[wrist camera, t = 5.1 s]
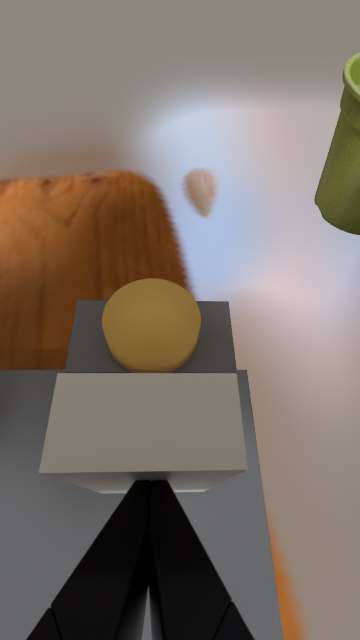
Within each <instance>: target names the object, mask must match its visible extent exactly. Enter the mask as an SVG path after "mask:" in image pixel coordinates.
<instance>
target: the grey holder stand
mask: <svg viewBox="0 0 360 640" xmlns="http://www.w3.org/2000/svg"><path fill="white" fill-rule="evenodd" d="M57 373H237V381H238V390H239V398H240V407H241V415H242V424H243V432H244V441H245V450H246V458H247V467H248V470H246V471H244V472H242V473H240V474H238V475H236V476H234V477H232V478H230V479H228V480H226V481H224V482H222V483H220V484H218V485H216V486H214V487H212V488H210V489H208V490H206V491H204V492H174V493H175V495H176V496H177V498H178V500H179V502H180V504H181V506H182V507H183V509H184V511H185V513H186V515H187V517H188V518H189V520H190V522H191V524H192V526H193V528H194V530H195V531H196V533H197V535H198V537H199V539H200V541H201V542H202V544H203V546H204V548H205V550H206V552H207V553H208V555H209V557H210V559H211V561H212V563H213V564H214V566H215V568H216V570H217V572H218V574H219V575H220V577H221V579H222V581H223V583H224V585H225V587H226V588H227V590H228V592H229V594H230V596H231V598H232V601H233V602H234V603H235V605H236V606H237V608H238V610H239V612H240V614H241V616H242V617H243V619H244V621H245V623H246V625H247V626H248V628H249V630H250V631H251V633H252V635H253V637H254V638H255V640H283V636H282V628H281V621H280V613H279V606H278V598H277V591H276V584H275V576H274V569H273V561H272V554H271V547H270V539H269V532H268V524H267V517H266V509H265V502H264V495H263V487H262V480H261V472H260V465H259V458H258V450H257V443H256V435H255V428H254V420H253V413H252V406H251V398H250V391H249V383H248V376H247V370H236V362H235V353H234V345H233V337H232V328H231V319H230V311H229V302H215V301H213V302H212V301H195V299H194V298H193V296H192V295H191V294H190V293H189V292H188V291H187V290H186V289H184V288H183V287H181V286H180V285H178V284H176V283H173V282H171V281H168V280H164V279H156V278H147V279H141V280H136V281H133V282H131V283H128V284H126V285H124V286H123V287H121V288H120V289H118V290H117V291H116V292H115V293H114V294H113V295H112V296H111V297H110V299H109V300H77V303H76V309H75V314H74V320H73V326H72V331H71V337H70V343H69V348H68V354H67V359H66V365H65V370H0V640H26V639H27V637H28V636H29V635H30V633H31V632H32V630H33V629H34V627H35V626H36V625H37V623H38V622H39V620H40V619H41V617H42V616H43V614H44V613H45V611H46V610H47V608H51V607H50V605H51V603H52V601H53V600H54V598H55V597H56V595H57V594H58V593H59V591H60V590H61V588H62V587H63V585H64V584H65V582H66V581H67V579H68V578H69V576H70V575H71V573H72V572H73V571H74V569H75V568H76V566H77V565H78V563H79V562H80V560H81V559H82V557H83V556H84V554H85V553H86V551H87V550H88V549H89V547H90V546H91V544H92V543H93V541H94V540H95V538H96V537H97V535H98V534H99V532H100V531H101V529H102V528H103V527H104V525H105V524H106V522H107V521H108V519H109V518H110V516H111V515H112V513H113V512H114V510H115V509H116V507H117V506H118V505H119V503H120V502H121V500H122V499H123V497H124V496H125V494H126V493H110V494H102V493H99V492H96V491H93V490H90V489H86V488H83V487H80V486H77V485H74V484H71V483H68V482H65V481H62V480H59V479H55V478H52V477H49V476H46V475H43V474H40V473H39V469H40V463H41V458H42V453H43V447H44V442H45V437H46V431H47V426H48V421H49V416H50V410H51V405H52V400H53V394H54V389H55V384H56V378H57ZM141 640H152V633H151V618H150V603H149V587H148V596H147V603H146V611H145V618H144V625H143V632H142V639H141Z"/></svg>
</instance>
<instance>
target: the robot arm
mask: <svg viewBox="0 0 360 640" xmlns="http://www.w3.org/2000/svg"><path fill="white" fill-rule="evenodd" d="M148 587H149V603H150V618H151V633H152V640H255V638H254V637H253V635H252V633H251V631H250V630H249V628H248V626H247V625H246V623H245V621H244V619H243V617H242V616H241V614H240V612H239V610H238V608H237V606H236V605H235V603H234V602H233V601H232V598H231V596H230V594H229V592H228V590H227V588H226V587H225V585H224V583H223V581H222V579H221V577H220V575H219V574H218V572H217V570H216V568H215V566H214V564H213V563H212V561H211V559H210V557H209V555H208V553H207V552H206V550H205V548H204V546H203V544H202V542H201V541H200V539H199V537H198V535H197V533H196V531H195V530H194V528H193V526H192V524H191V522H190V520H189V518H188V517H187V515H186V513H185V511H184V509H183V507H182V506H181V504H180V502H179V500H178V498H177V496H176V495H175V493H174V491H173V489H172V487H171V485H170V484H169V482H168V481H167V480H152V482H151V481H150V480H136V481H134V483H133V484H132V485H131V487H130V488H129V490H128V491H127V493H126V494H125V496H124V497H123V499H122V500H121V502H120V503H119V505H118V506H117V507H116V509H115V510H114V512H113V513H112V515H111V516H110V518H109V519H108V521H107V522H106V524H105V525H104V527H103V528H102V529H101V531H100V532H99V534H98V535H97V537H96V538H95V540H94V541H93V543H92V544H91V546H90V547H89V549H88V550H87V551H86V553H85V554H84V556H83V557H82V559H81V560H80V562H79V563H78V565H77V566H76V568H75V569H74V571H73V572H72V573H71V575H70V576H69V578H68V579H67V581H66V582H65V584H64V585H63V587H62V588H61V590H60V591H59V593H58V594H57V595H56V597H55V598H54V600H53V601H52V603H51V605H50V607H51V608H47V610H46V611H45V613H44V614H43V616H42V617H41V619H40V620H39V622H38V623H37V625H36V626H35V627H34V629H33V630H32V632H31V633H30V635H29V636H28V637H27V639H26V640H141V639H142V632H143V625H144V618H145V611H146V603H147V596H148Z"/></svg>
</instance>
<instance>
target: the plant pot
mask: <svg viewBox="0 0 360 640" xmlns="http://www.w3.org/2000/svg"><path fill="white" fill-rule="evenodd" d="M343 82H344V85H345V87H344V91H343V94H342V98H341V104H340V108H341V112H340V116H339V119H338V122H337V126H336V129H335V132H334V136H333V139H332V143H331V146H330V149H329V153H328V156H327V159H326V162H325V166H324V169H323V172H322V175H321V178H320V181H319V185H318V188H317V192H316V195H315V204H316V205H317V206H318V207H319V209H320V211H321V214H322V216H323V218H324V219H325V220H326V221H327V222H328V223H330V224H331V225H333V226H334V227H337V228H339V229H340V230H343V231H346V232H348V233H352V234H356V235H360V53H357V54H356V55H354V56H352V57H351V58H350V59H349V60H348V61H347V63H346V64H345V67H344V70H343Z"/></svg>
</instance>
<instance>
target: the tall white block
mask: <svg viewBox="0 0 360 640" xmlns="http://www.w3.org/2000/svg"><path fill="white" fill-rule="evenodd" d="M246 470H248V467H247V458H246V450H245V441H244V432H243V424H242V415H241V407H240V398H239V390H238V381H237V373H57V378H56V384H55V389H54V394H53V400H52V405H51V410H50V416H49V421H48V426H47V431H46V437H45V442H44V447H43V453H42V458H41V463H40V469H39V473H40V474H43V475H46V476H49V477H52V478H55V479H59V480H62V481H65V482H68V483H71V484H74V485H77V486H80V487H83V488H86V489H90V490H93V491H96V492H99V493H102V494H110V493H127V491H128V490H129V488H130V487H131V485H132V484H133V483H134V481H136V480H150V481H151V482H152V480H167V481H168V482H169V484H170V485H171V487H172V489H173V491H174V492H204V491H206V490H208V489H210V488H212V487H214V486H216V485H218V484H220V483H222V482H224V481H226V480H228V479H230V478H232V477H234V476H236V475H238V474H240V473H242V472H244V471H246Z"/></svg>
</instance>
